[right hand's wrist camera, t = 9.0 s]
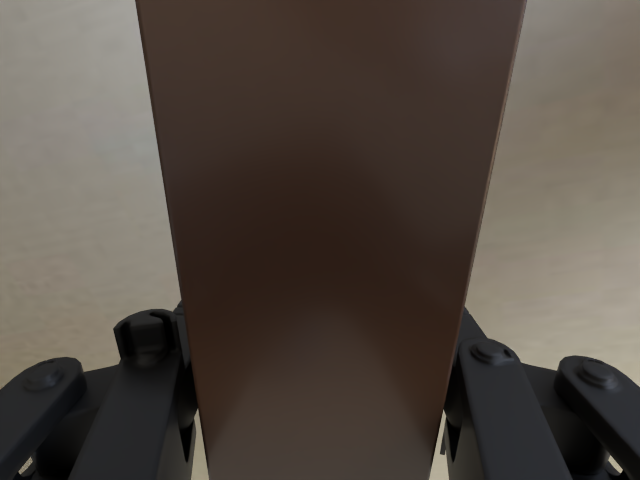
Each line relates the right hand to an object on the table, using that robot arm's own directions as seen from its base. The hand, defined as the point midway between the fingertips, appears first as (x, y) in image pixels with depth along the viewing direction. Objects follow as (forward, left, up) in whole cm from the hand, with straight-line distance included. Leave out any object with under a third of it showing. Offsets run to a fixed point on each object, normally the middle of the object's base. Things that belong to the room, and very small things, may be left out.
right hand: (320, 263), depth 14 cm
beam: (0, +13, +1) cm, 13 cm away
